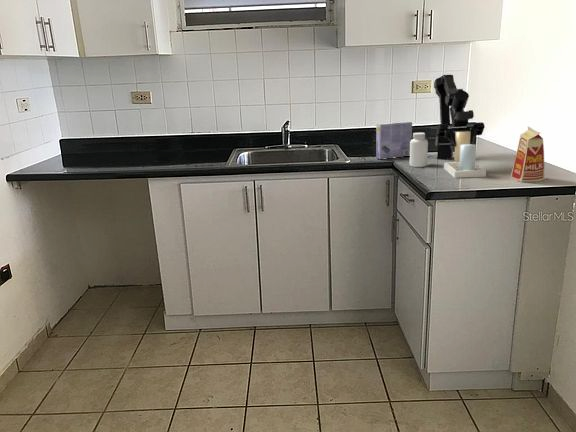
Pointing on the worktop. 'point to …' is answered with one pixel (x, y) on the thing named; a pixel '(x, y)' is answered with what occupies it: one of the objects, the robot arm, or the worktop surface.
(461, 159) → the pale blue cylinder
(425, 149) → the pill bottle
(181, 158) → the worktop surface
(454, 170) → the white rectangular tray
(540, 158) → the milk carton
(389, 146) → the cake pan box
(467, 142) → the beige tall cylinder
